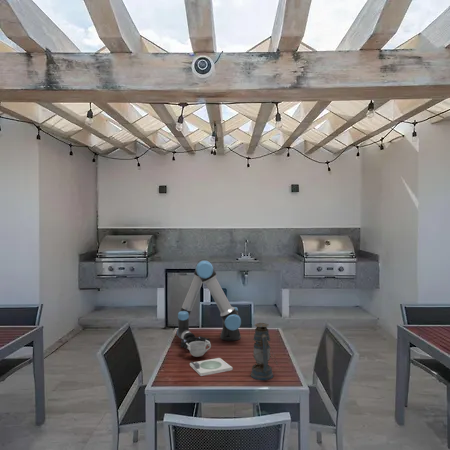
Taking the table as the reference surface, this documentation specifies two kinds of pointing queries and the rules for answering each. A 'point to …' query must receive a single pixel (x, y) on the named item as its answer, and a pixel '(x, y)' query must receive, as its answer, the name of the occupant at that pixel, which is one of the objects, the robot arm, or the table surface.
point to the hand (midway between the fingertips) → (200, 346)
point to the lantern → (262, 353)
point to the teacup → (198, 348)
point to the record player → (210, 366)
